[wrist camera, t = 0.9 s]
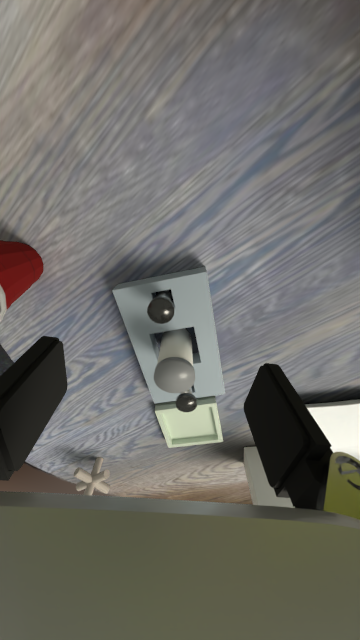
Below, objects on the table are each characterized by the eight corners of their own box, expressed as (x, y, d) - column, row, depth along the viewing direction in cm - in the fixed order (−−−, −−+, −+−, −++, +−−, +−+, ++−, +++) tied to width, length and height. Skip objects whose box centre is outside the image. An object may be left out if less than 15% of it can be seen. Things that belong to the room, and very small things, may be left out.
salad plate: (285, 397, 45) (292, 411, 42) (392, 385, 43) (408, 398, 40) (281, 455, 55) (287, 469, 52) (369, 447, 53) (380, 462, 50)
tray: (215, 396, 45) (216, 403, 43) (222, 434, 51) (223, 441, 49) (155, 404, 46) (154, 411, 45) (169, 440, 52) (168, 447, 50)
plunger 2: (193, 373, 40) (194, 396, 35) (196, 387, 42) (198, 410, 37) (175, 376, 40) (173, 399, 36) (178, 389, 42) (178, 413, 37)
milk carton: (270, 461, 55) (308, 570, 39) (243, 462, 56) (268, 571, 39) (272, 444, 52) (314, 556, 35) (243, 446, 53) (271, 557, 36)
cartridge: (189, 322, 37) (191, 358, 28) (195, 349, 39) (198, 390, 31) (157, 328, 37) (148, 365, 29) (164, 354, 40) (159, 395, 31)
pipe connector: (98, 443, 53) (81, 489, 44) (126, 461, 57) (115, 508, 48) (72, 456, 56) (51, 503, 47) (100, 473, 60) (86, 519, 51)
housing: (204, 266, 32) (206, 271, 30) (222, 382, 43) (225, 394, 40) (117, 284, 34) (112, 290, 31) (156, 391, 45) (154, 403, 42)
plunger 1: (172, 283, 32) (170, 296, 27) (177, 305, 34) (176, 321, 29) (149, 288, 32) (143, 302, 28) (155, 309, 34) (151, 325, 29)
